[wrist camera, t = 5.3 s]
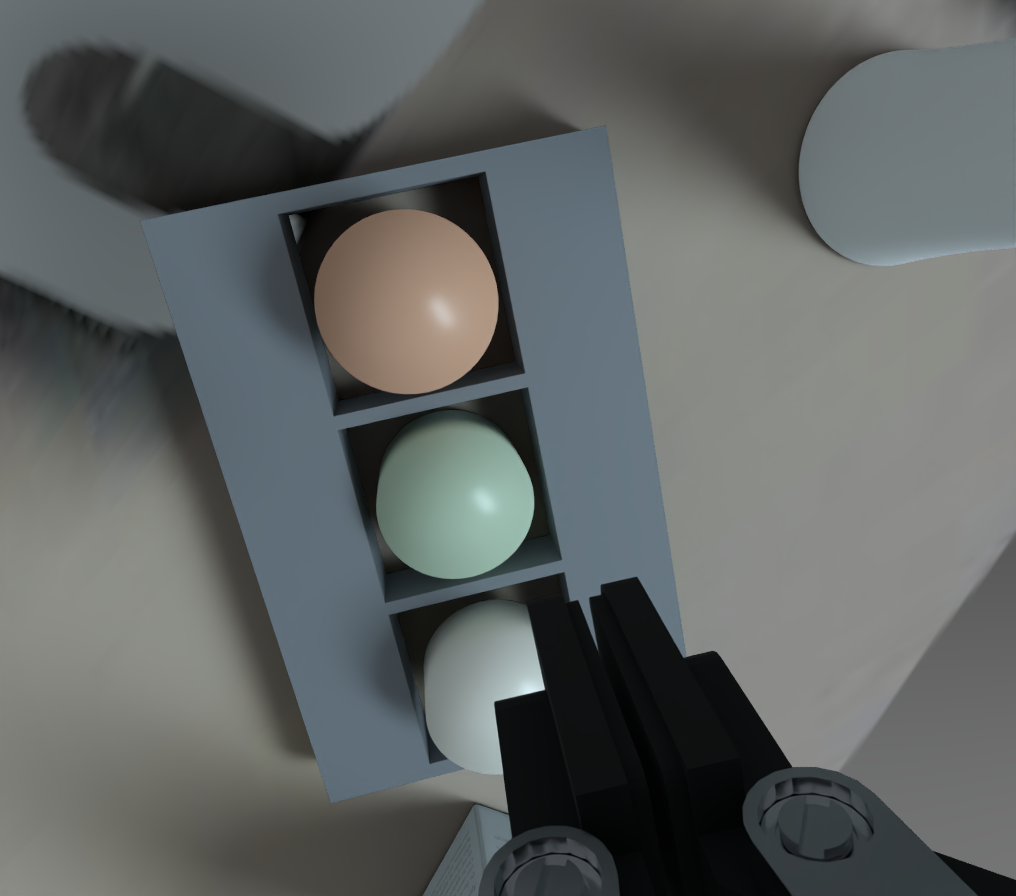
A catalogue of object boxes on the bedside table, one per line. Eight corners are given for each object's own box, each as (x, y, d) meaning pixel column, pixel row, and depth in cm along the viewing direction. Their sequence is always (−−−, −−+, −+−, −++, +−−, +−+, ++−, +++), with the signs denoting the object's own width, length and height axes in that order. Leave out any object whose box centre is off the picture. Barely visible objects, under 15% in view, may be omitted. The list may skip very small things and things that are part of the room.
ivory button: (549, 584, 24) (564, 622, 22) (573, 705, 25) (590, 752, 23) (408, 619, 24) (409, 661, 21) (441, 739, 25) (444, 790, 23)
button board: (588, 134, 22) (605, 125, 20) (673, 675, 27) (694, 709, 25) (163, 221, 21) (139, 221, 19) (335, 762, 27) (330, 803, 25)
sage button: (506, 395, 24) (517, 413, 21) (533, 527, 25) (547, 558, 23) (362, 428, 23) (358, 450, 21) (398, 560, 25) (397, 594, 22)
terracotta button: (469, 195, 21) (477, 191, 18) (502, 357, 22) (514, 372, 20) (304, 229, 20) (291, 230, 18) (347, 392, 22) (341, 411, 19)
